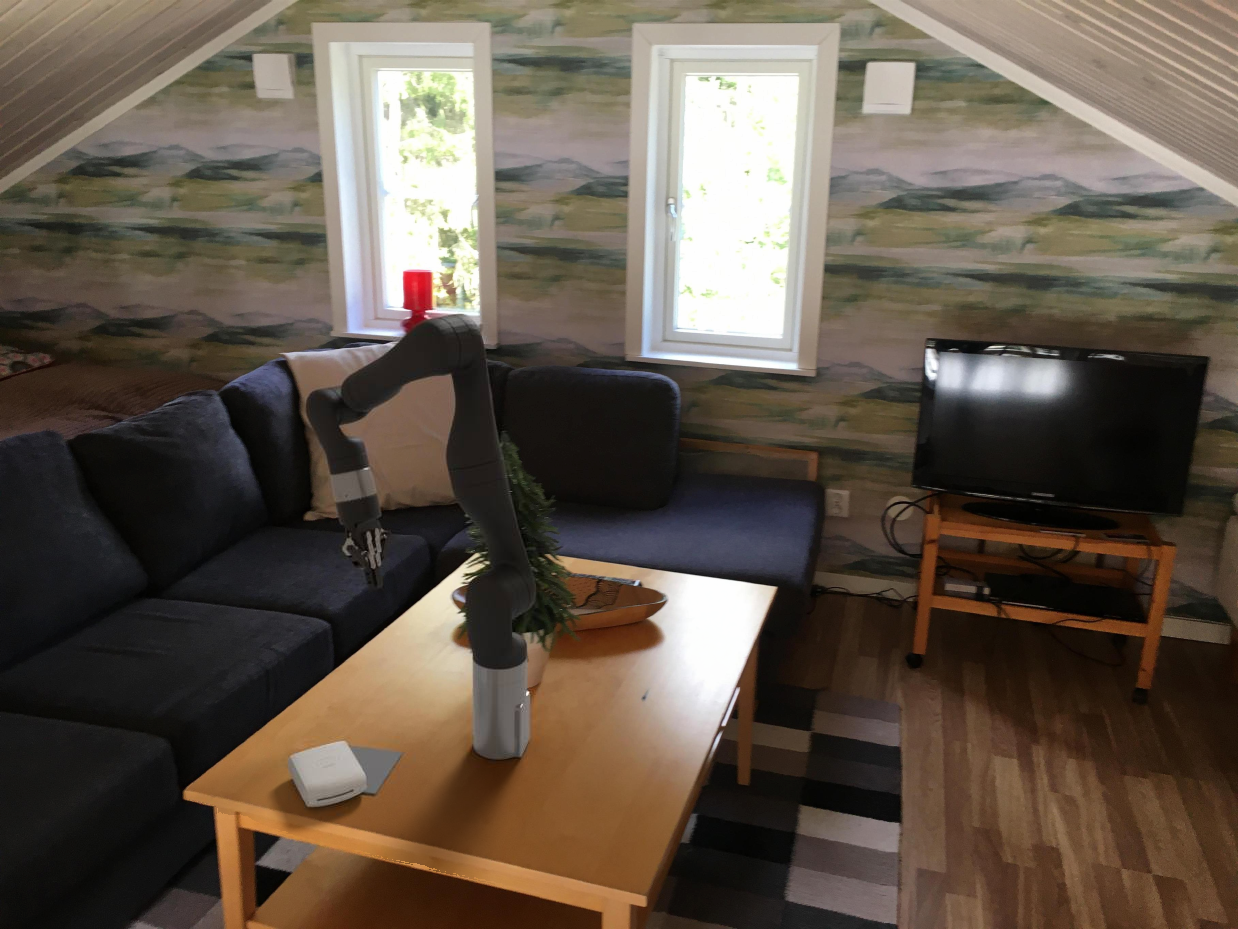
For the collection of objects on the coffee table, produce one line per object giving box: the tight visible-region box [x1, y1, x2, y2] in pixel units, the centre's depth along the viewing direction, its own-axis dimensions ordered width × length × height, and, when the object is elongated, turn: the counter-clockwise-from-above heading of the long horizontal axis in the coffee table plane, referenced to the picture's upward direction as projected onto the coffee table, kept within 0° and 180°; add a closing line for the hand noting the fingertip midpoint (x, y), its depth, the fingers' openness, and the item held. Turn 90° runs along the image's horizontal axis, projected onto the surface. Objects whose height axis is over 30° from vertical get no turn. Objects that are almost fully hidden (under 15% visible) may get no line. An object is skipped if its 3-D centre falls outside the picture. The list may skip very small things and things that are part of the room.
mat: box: [348, 744, 404, 796], centre depth 171 cm, size 11×12×1 cm
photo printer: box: [286, 740, 367, 808], centre depth 165 cm, size 10×4×12 cm
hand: (376, 587), depth 187 cm, fingers closed
